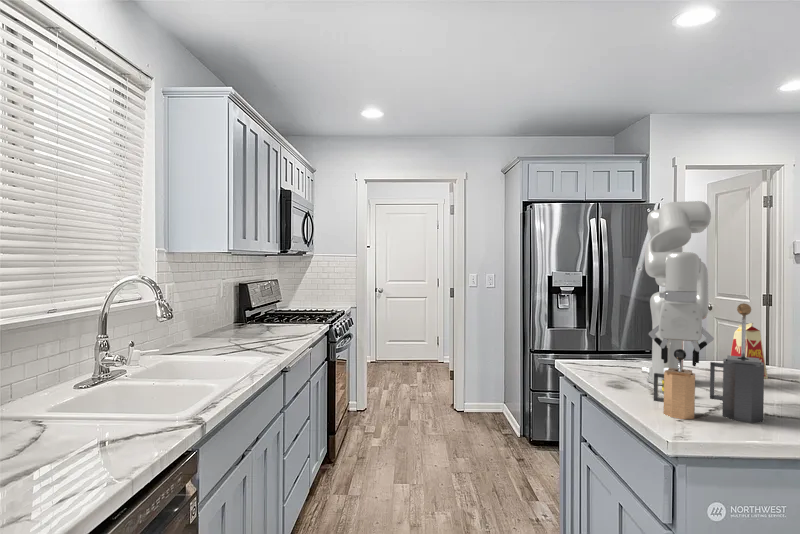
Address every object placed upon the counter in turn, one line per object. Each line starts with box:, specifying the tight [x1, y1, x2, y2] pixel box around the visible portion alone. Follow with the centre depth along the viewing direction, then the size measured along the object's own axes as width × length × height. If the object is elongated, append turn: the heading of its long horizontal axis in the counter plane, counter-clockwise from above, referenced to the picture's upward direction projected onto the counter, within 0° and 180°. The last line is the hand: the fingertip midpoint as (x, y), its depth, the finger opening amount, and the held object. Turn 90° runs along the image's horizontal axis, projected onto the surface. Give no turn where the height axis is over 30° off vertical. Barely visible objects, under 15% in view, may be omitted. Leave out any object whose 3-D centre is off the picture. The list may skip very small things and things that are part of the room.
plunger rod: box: [736, 302, 752, 360], centre depth 137 cm, size 3×3×21 cm
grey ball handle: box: [674, 349, 687, 372], centre depth 138 cm, size 3×3×17 cm
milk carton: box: [730, 322, 769, 380], centre depth 188 cm, size 9×9×20 cm
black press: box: [709, 354, 765, 424], centre depth 138 cm, size 12×9×16 cm
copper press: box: [653, 368, 696, 420], centre depth 139 cm, size 10×7×12 cm
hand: (679, 363), depth 138 cm, fingers open, 6 cm apart
